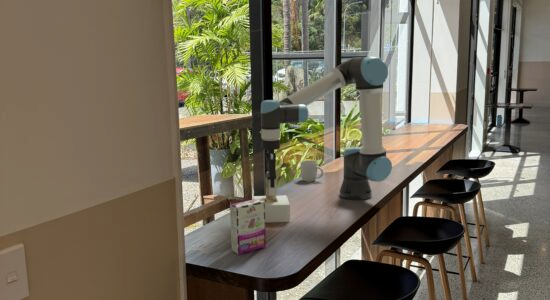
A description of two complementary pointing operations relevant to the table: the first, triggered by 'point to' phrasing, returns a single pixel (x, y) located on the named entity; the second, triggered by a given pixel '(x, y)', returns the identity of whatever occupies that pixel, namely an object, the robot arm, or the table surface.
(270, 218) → the socket
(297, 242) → the table surface
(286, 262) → the table surface
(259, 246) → the candy bar box
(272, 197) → the peg
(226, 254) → the table surface
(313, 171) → the mug
